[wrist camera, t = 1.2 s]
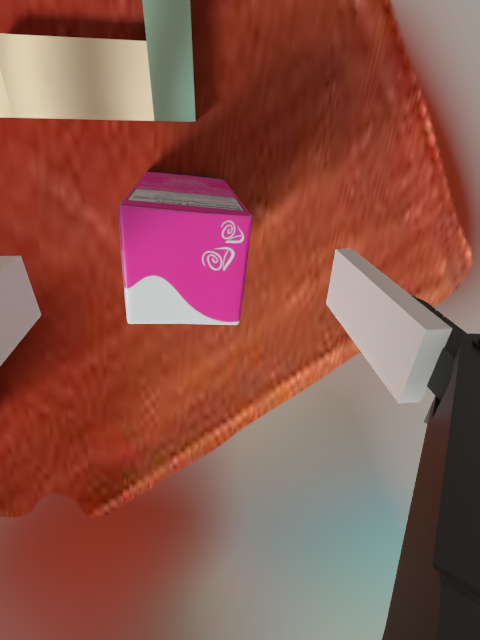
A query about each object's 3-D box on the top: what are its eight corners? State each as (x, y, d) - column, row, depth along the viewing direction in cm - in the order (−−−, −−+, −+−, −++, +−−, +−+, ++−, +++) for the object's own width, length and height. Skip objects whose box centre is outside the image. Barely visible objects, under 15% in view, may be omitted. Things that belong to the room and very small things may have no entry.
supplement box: (222, 254, 26) (239, 330, 17) (146, 249, 25) (119, 327, 16) (228, 177, 23) (255, 215, 14) (144, 168, 22) (107, 202, 13)
